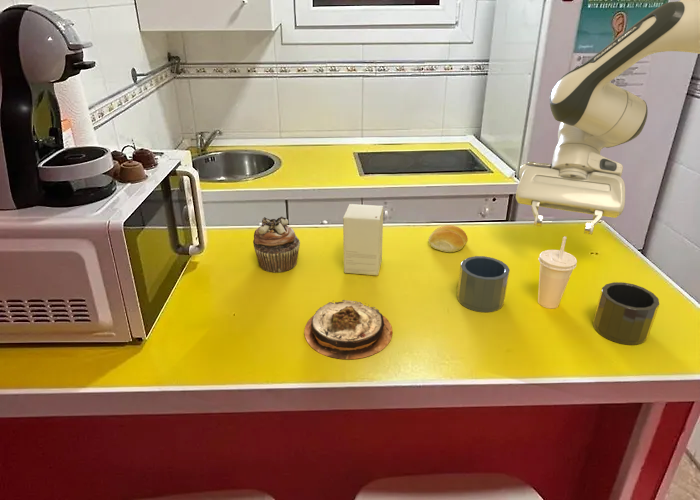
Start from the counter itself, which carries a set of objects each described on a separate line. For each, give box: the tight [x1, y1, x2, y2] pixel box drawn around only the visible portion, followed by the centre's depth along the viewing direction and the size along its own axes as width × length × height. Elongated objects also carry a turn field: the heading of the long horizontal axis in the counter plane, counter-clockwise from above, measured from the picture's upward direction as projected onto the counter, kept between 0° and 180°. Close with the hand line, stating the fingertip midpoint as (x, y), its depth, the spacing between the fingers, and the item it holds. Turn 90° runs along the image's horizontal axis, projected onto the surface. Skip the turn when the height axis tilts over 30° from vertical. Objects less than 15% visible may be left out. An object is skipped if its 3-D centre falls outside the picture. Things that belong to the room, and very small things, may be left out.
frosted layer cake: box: [303, 299, 393, 360], centre depth 88 cm, size 15×15×4 cm
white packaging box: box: [342, 203, 384, 276], centre depth 106 cm, size 7×7×13 cm
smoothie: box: [537, 236, 578, 309], centre depth 94 cm, size 6×6×14 cm
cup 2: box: [592, 281, 660, 346], centre depth 88 cm, size 9×9×7 cm
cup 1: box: [456, 255, 511, 313], centre depth 96 cm, size 9×9×7 cm
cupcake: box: [252, 216, 301, 274], centre depth 108 cm, size 10×10×10 cm
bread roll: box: [428, 224, 469, 253], centre depth 117 cm, size 8×9×4 cm
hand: (562, 229), depth 103 cm, fingers open, 8 cm apart
